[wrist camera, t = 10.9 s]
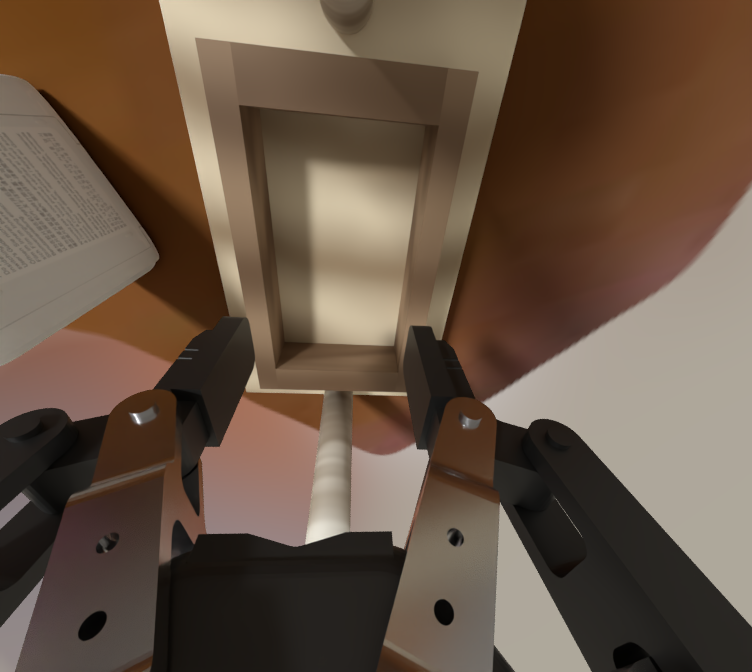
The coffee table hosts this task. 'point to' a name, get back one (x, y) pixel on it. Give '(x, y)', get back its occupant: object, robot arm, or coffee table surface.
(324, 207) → the beige hollow frame piece
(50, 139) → the photo printer
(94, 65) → the coffee table surface
